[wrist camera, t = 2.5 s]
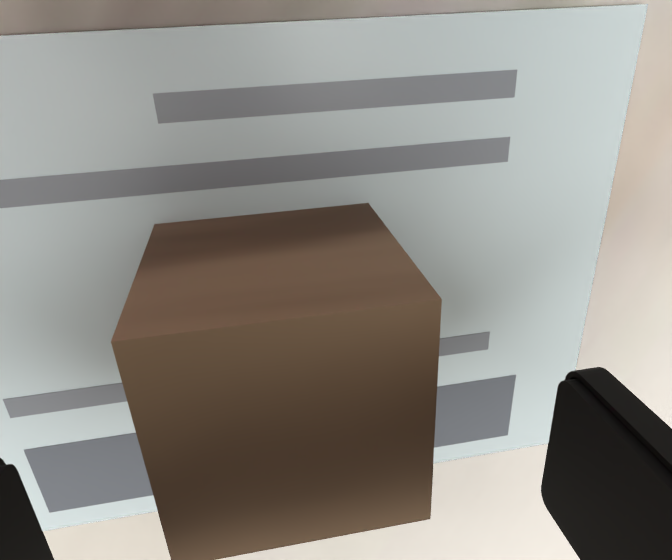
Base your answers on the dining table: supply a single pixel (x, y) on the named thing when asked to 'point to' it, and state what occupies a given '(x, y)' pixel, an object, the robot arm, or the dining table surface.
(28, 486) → the letter
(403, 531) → the dining table surface
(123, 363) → the walnut cube
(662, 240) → the dining table surface
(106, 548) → the dining table surface
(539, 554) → the dining table surface
